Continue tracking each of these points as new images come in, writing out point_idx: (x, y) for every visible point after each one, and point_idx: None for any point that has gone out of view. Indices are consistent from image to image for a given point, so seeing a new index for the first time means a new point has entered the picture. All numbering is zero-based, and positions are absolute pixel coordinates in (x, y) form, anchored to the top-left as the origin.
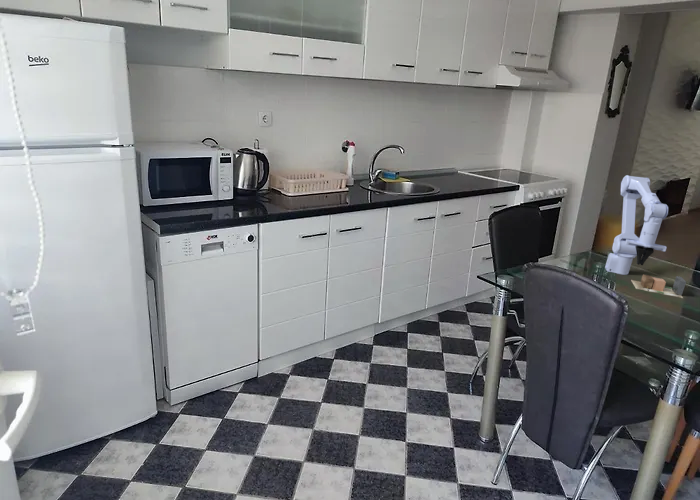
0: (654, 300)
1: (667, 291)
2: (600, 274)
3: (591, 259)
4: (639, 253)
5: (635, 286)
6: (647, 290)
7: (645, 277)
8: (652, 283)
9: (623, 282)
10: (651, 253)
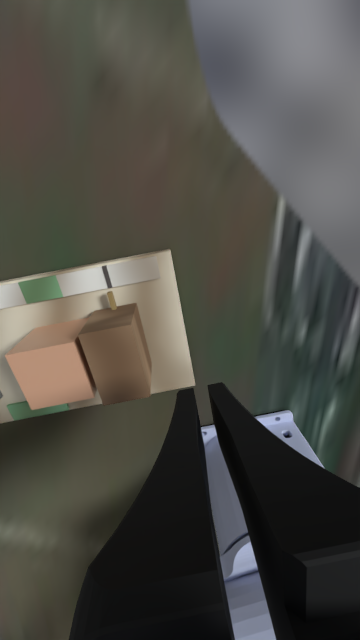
0: (59, 153)
1: (14, 345)
2: (318, 384)
3: None
4: (303, 469)
5: (174, 290)
6: (109, 264)
7: (133, 336)
8: (87, 323)
9: (223, 352)
10: (114, 545)
